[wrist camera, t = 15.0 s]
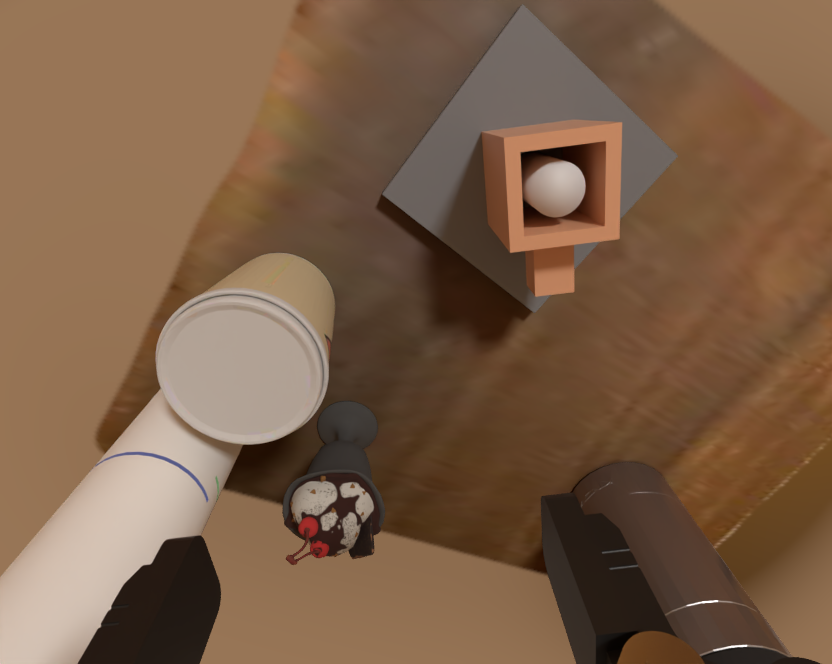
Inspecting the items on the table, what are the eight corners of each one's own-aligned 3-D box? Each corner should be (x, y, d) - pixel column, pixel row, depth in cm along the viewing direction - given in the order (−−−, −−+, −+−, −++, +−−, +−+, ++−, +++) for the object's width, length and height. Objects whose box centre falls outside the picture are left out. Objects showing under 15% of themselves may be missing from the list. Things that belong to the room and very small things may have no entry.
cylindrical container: (238, 345, 41) (30, 648, 18) (274, 421, 44) (135, 769, 21) (153, 370, 42) (-153, 695, 19) (194, 444, 44) (-29, 807, 21)
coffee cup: (290, 381, 42) (251, 477, 31) (193, 301, 40) (113, 376, 28) (372, 303, 40) (362, 377, 29) (276, 213, 37) (224, 257, 26)
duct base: (669, 154, 37) (740, 166, 29) (530, 307, 41) (561, 353, 33) (518, 7, 33) (554, -23, 25) (382, 191, 37) (378, 212, 29)
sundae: (296, 399, 43) (247, 537, 29) (378, 384, 43) (368, 516, 29) (318, 466, 46) (282, 622, 32) (395, 452, 45) (393, 603, 31)
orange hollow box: (574, 119, 34) (622, 122, 27) (575, 263, 38) (617, 300, 31) (481, 131, 34) (503, 137, 27) (491, 274, 38) (513, 313, 31)
